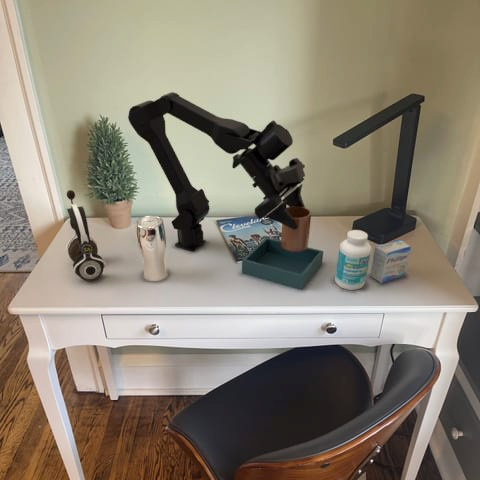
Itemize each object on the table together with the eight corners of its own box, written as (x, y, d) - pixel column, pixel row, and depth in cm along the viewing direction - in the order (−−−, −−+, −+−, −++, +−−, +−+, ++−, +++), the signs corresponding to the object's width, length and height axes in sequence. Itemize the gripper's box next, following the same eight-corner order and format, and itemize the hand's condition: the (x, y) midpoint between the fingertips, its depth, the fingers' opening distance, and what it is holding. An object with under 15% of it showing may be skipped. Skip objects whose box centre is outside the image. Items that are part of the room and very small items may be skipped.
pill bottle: (339, 292, 120) (347, 243, 112) (330, 276, 126) (337, 228, 118) (369, 289, 121) (378, 240, 113) (358, 274, 127) (367, 226, 119)
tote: (241, 273, 127) (241, 260, 125) (265, 250, 137) (266, 237, 135) (301, 290, 121) (302, 276, 119) (322, 264, 131) (323, 250, 129)
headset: (68, 257, 134) (51, 186, 122) (97, 252, 137) (83, 182, 125) (78, 289, 122) (61, 214, 110) (110, 282, 124) (96, 208, 112)
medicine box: (380, 284, 123) (387, 253, 118) (369, 275, 126) (374, 245, 121) (405, 276, 126) (412, 246, 121) (393, 268, 129) (399, 238, 124)
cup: (276, 247, 124) (278, 214, 119) (287, 236, 129) (289, 204, 123) (301, 254, 122) (304, 220, 116) (311, 242, 126) (315, 209, 121)
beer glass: (173, 270, 129) (168, 217, 120) (161, 284, 123) (155, 229, 114) (149, 266, 130) (143, 213, 121) (137, 279, 125) (128, 225, 116)
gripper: (269, 163, 106) (313, 221, 109) (299, 139, 119) (338, 191, 122) (235, 192, 113) (278, 245, 116) (268, 166, 127) (305, 214, 130)
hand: (301, 222), depth 121 cm, fingers closed on cup, 7 cm apart
